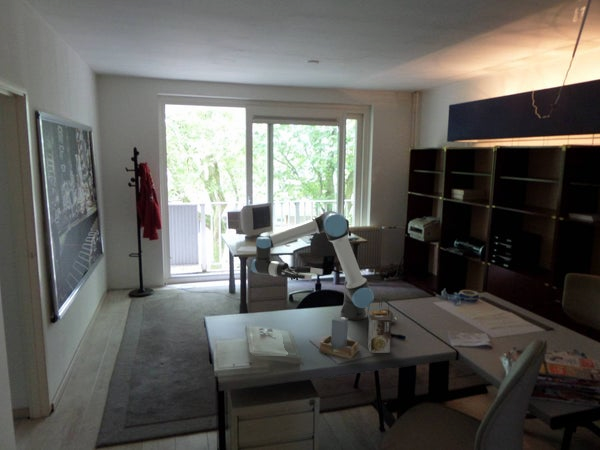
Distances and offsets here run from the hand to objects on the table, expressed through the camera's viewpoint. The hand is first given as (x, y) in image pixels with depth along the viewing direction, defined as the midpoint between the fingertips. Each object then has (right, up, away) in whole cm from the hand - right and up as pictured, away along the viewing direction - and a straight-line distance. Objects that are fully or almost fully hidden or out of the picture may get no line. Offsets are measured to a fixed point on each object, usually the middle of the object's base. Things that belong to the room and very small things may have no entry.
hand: (317, 274), depth 208 cm
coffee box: (+28, -35, -10) cm, 46 cm away
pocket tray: (+10, -34, -12) cm, 37 cm away
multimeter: (+33, -33, +3) cm, 47 cm away
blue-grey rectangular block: (+10, -33, -12) cm, 36 cm away
